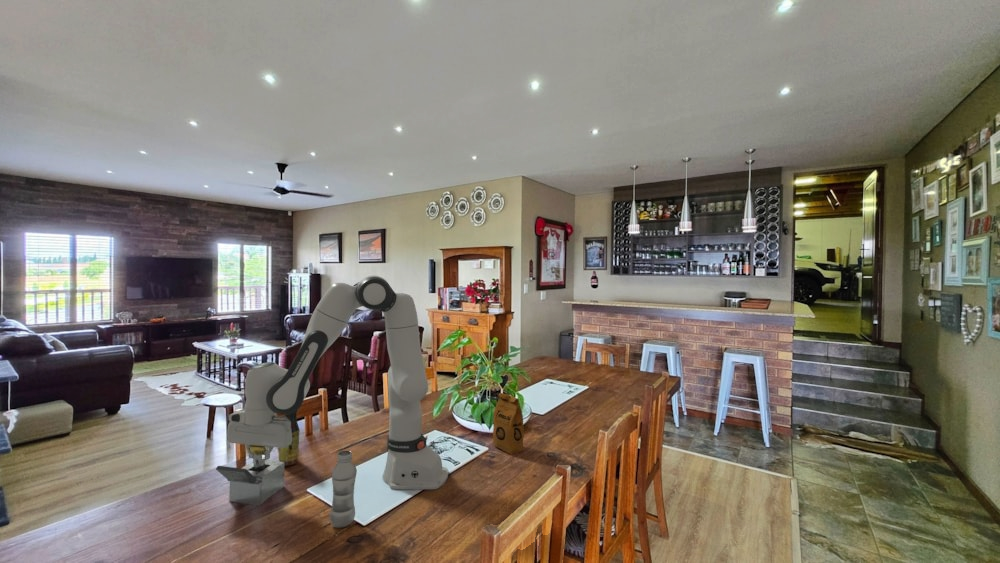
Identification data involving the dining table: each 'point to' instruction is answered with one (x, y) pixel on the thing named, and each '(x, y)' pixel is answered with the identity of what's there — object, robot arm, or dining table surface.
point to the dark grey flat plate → (237, 475)
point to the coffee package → (508, 425)
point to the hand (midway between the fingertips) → (259, 458)
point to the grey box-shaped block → (259, 484)
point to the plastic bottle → (343, 491)
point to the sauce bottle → (291, 451)
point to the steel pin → (258, 457)
